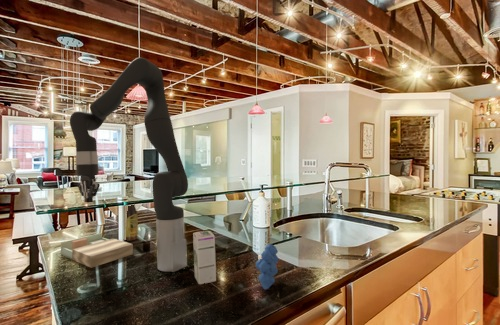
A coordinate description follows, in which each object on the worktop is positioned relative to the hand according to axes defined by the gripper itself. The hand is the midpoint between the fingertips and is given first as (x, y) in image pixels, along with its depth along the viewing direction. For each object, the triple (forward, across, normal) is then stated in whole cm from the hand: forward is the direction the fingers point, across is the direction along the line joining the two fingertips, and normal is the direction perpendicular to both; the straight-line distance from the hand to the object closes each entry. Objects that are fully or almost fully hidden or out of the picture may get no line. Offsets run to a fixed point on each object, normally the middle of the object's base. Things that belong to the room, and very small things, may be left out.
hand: (89, 207), depth 111 cm
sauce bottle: (+19, +5, -21) cm, 29 cm away
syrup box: (+20, -53, -8) cm, 58 cm away
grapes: (+21, -72, -14) cm, 76 cm away
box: (+19, +6, -2) cm, 20 cm away
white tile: (+16, +6, -6) cm, 18 cm away
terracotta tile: (+16, +4, +2) cm, 16 cm away
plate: (+19, -6, -1) cm, 20 cm away
